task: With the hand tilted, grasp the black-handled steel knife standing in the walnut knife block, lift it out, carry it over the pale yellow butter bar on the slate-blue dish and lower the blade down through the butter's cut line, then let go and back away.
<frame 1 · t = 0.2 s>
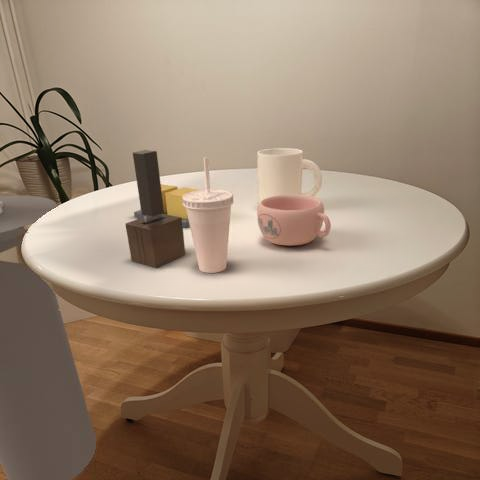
knife: (152, 208, 57), in the knife block
butter dish: (174, 216, 79), on the table
mug: (288, 209, 81), on the table
knife block: (158, 257, 61), on the table
butter: (172, 200, 77), on the butter dish, point 3 cm above the table
smoothie: (212, 268, 57), on the table
mug 2: (294, 243, 65), on the table
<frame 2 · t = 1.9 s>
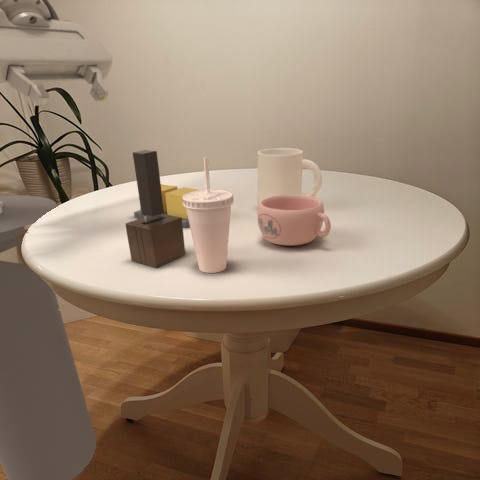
hand: (74, 99, 57), 20 cm above the table, tool tilted 45°, fingers open, 8 cm apart
nothing on the table moved.
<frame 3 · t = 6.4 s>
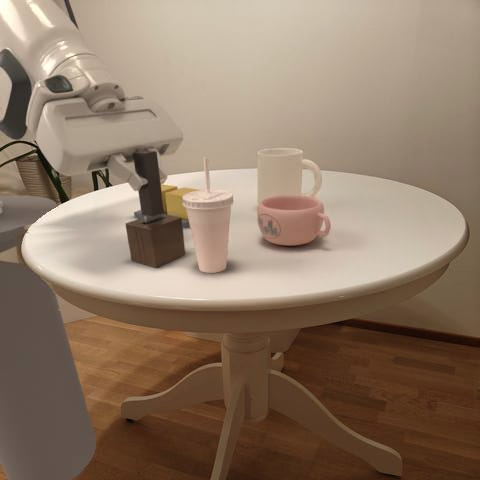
hand: (152, 184, 55), 10 cm above the table, tool tilted 45°, fingers closed on knife, 2 cm apart
knife: (152, 208, 57), in the knife block, touching gripper
everything else where it was.
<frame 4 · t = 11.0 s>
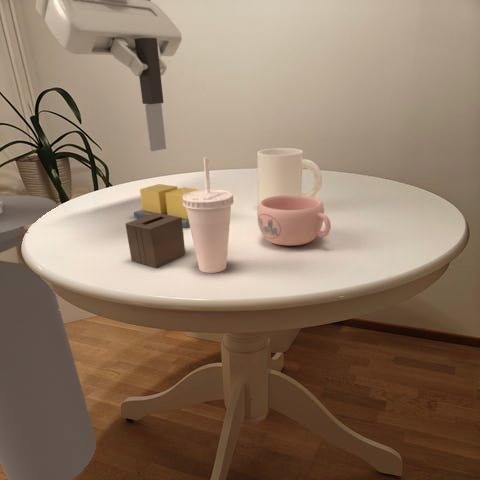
hand: (152, 72, 60), 23 cm above the table, tool tilted 45°, fingers closed on knife, 2 cm apart
knife: (152, 97, 61), point 20 cm above the table, touching gripper
everything else where it was.
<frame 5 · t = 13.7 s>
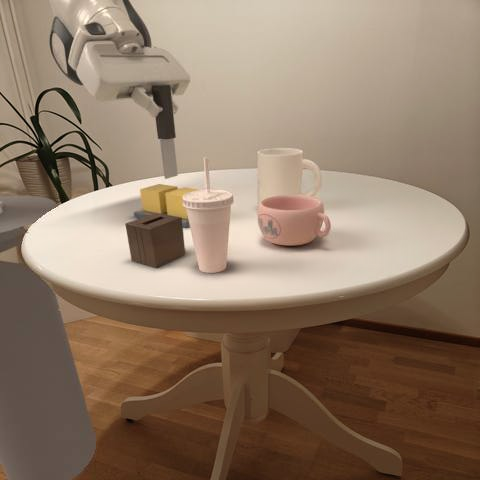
hand: (166, 112, 70), 17 cm above the table, tool tilted 45°, fingers closed on knife, 2 cm apart
knife: (166, 133, 72), point 14 cm above the table, touching gripper
everything else where it was.
when the fingers open (11 cm above the table, at t = 15.6 s): knife stays where it is, resting on butter dish.
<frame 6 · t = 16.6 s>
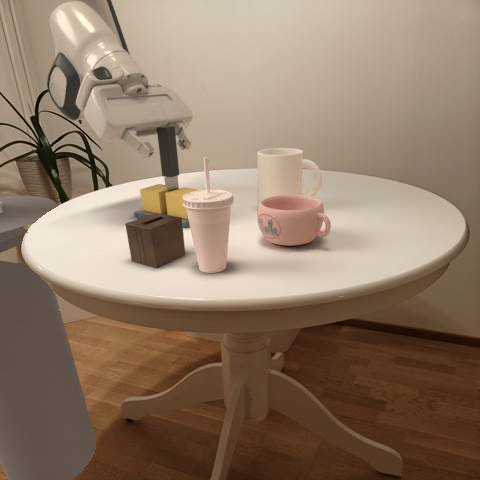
hand: (169, 150, 73), 12 cm above the table, tool tilted 45°, fingers open, 8 cm apart
knife: (170, 171, 75), on the butter dish, point 8 cm above the table
everything else where it was.
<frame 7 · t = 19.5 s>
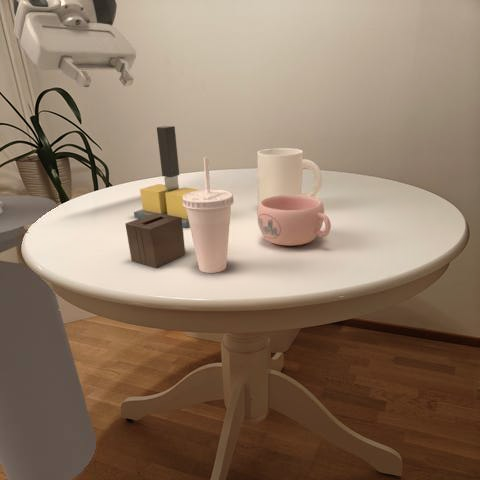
hand: (109, 83, 74), 22 cm above the table, tool tilted 45°, fingers open, 8 cm apart
nothing on the table moved.
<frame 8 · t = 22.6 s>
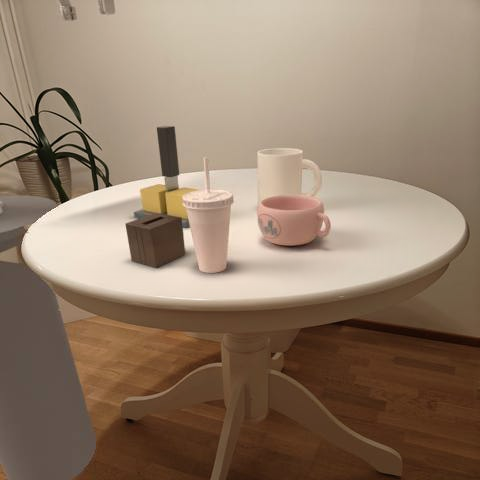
hand: (88, 17, 66), 31 cm above the table, tool pointing down, fingers open, 8 cm apart
nothing on the table moved.
at the end: knife 0.1 cm off-centre on the butter, point 8.2 cm above the butter's base; knife tilted 0°; the gripper is holding nothing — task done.
